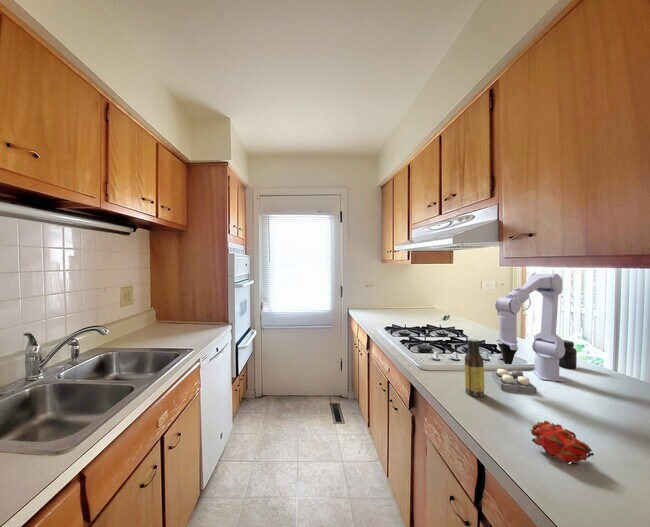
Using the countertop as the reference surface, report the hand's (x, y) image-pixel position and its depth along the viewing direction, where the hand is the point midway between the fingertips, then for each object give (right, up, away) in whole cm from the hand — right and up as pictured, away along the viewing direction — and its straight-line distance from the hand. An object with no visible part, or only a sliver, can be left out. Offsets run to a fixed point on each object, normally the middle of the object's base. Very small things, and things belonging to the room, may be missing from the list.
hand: (507, 363), depth 106 cm
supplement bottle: (+42, -10, +22) cm, 49 cm away
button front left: (+5, -7, -2) cm, 9 cm away
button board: (+3, -9, +2) cm, 10 cm away
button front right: (0, -7, 0) cm, 7 cm away
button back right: (+2, -7, +6) cm, 9 cm away
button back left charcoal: (+7, -7, +5) cm, 11 cm away
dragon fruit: (-13, -9, -38) cm, 41 cm away
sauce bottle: (-16, -10, -5) cm, 19 cm away
